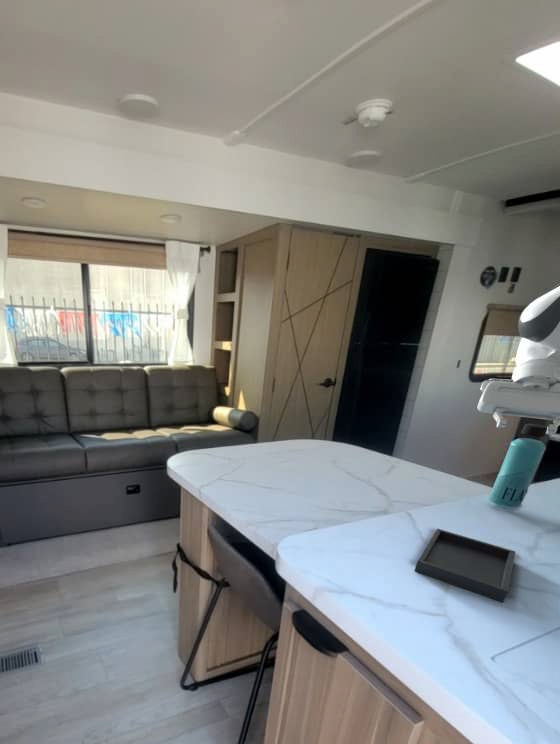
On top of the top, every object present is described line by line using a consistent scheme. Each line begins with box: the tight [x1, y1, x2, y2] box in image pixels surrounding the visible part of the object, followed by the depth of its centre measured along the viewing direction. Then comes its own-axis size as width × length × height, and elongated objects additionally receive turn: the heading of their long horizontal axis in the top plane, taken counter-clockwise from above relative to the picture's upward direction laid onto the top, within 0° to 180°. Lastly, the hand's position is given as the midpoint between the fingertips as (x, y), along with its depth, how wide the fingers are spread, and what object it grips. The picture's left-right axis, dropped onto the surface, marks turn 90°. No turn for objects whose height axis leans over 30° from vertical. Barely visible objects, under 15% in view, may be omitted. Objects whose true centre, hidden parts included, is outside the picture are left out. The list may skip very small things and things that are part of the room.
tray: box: [414, 528, 516, 603], centre depth 72 cm, size 17×13×2 cm
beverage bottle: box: [488, 423, 548, 509], centre depth 92 cm, size 6×7×20 cm
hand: (525, 429), depth 95 cm, fingers open, 8 cm apart
